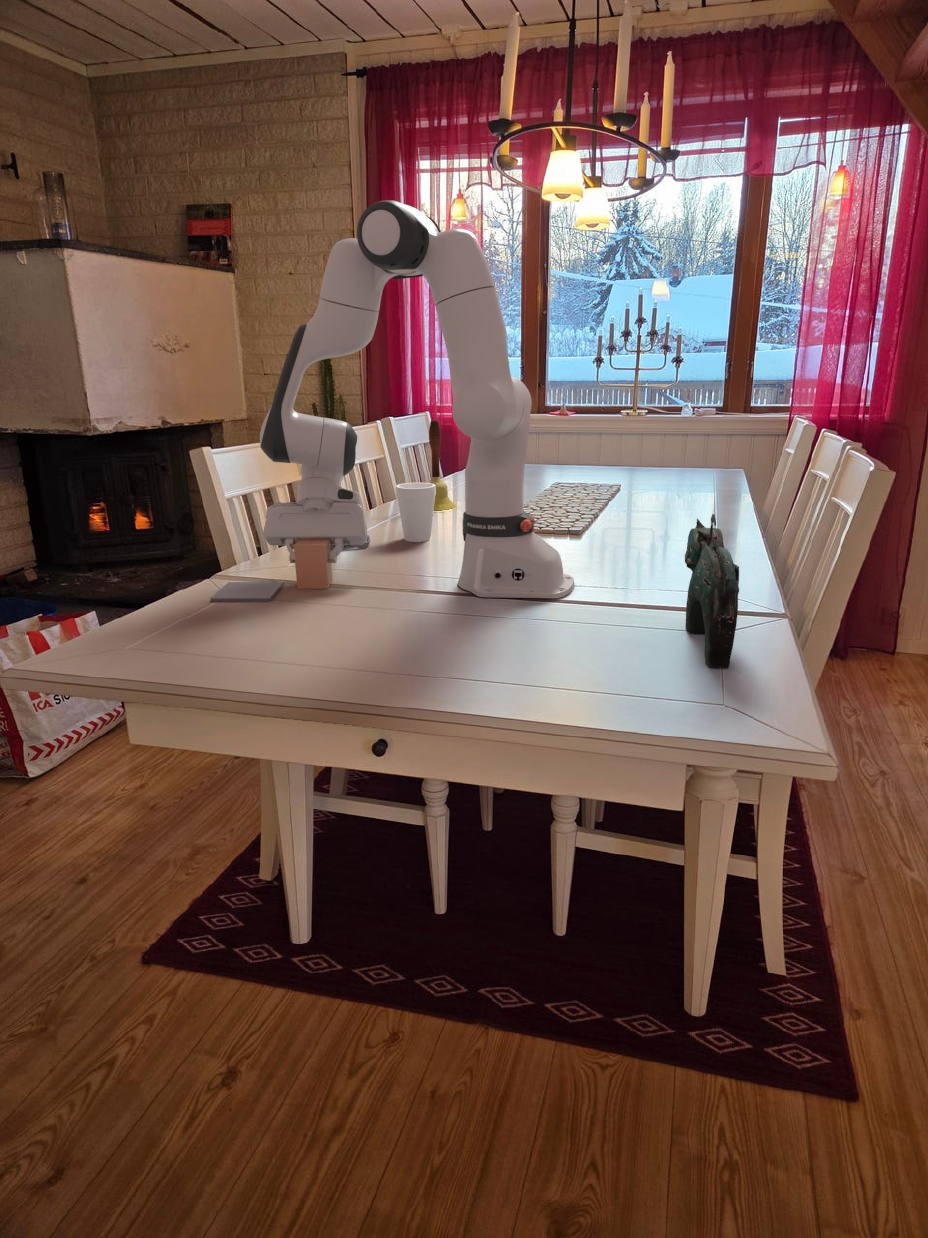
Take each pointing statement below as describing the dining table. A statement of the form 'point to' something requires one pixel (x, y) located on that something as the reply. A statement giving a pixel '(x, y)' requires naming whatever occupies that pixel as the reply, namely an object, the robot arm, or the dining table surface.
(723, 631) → the dark green horse figurine
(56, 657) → the dining table surface
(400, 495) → the foam cup
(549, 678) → the dining table surface
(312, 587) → the tan wooden post block
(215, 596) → the slate coaster
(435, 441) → the handbell
